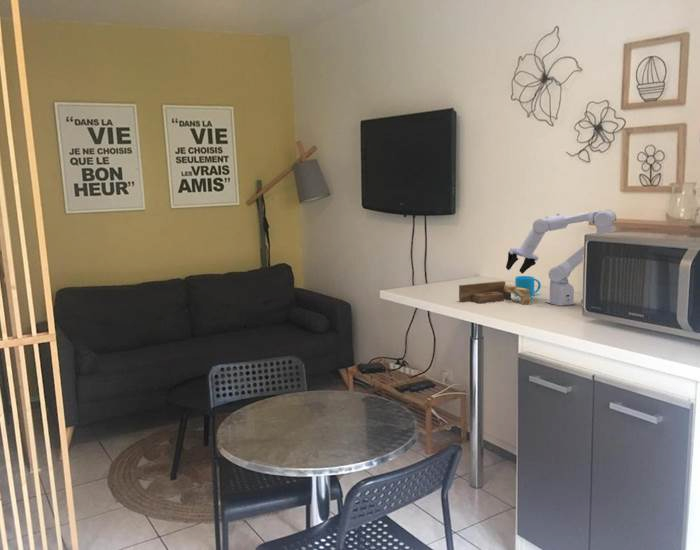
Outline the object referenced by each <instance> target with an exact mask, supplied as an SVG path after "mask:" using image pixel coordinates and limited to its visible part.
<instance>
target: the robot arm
mask: <svg viewBox="0 0 700 550" xmlns="http://www.w3.org/2000/svg"><path fill="white" fill-rule="evenodd" d="M614 221H617V214H616V213H615V212H614V211H613V210H611V209H605V210H592V211H591V210H590V211H587V212H582V213H577V214H574V215H570V216H567V215H565V214H564V213H557V214H555V215H554V216H544V217H542V218H538V219H536V220H534V222H533V223H532V227H531V229H530V231H529V232H528V234H527V236H526V237H525V239H524V240H523V243H522V244H521V245H520V247H518V248H512V247H510V248H509V250H508V252H507V255H508V256H507V262H506V265H505V269H506V270H507V271H509V270H511V269H512V267H513V266H514V264H515V263H516V262H517V261H518V260H519V258H518V257H523V258H524V260H523V263H522V265H521V266H520V268H519V272H520V274H524V273H525V272H526V271H528V269H529V268H531V267H533V266H535V265H536V263H537V262H538V260H539V259H540V258H539V256H538V255H536V254H534V253H535V250H536V249H537V248H538V246H539V244H540V243H541V241H542V239H543V237H544V236H545V234H546V233H547V232H549V231H550V232H551V231H557V230H563V229H566V228H567V227H568V225H570V224H576V223H582V222H588V223H591V224H594V225H595V227H596V234H597V233H606V232H613V233H614V230H615V227H616V226H615V225H613V226H612V223H613V222H614ZM583 255H584V245H583V246H581V248H580V249H578V250H577V251H576V252H574V253H573V254H572V255H570V256H569V257H568V258H567V259H566V260H564V261H563V262H561V263H560V264H558V265H556V266H553V267H552V268H550V269H549V271H548V278H549V300H544V302H545V303H548V304H552V305H556V306H559V307H561V306H569V305H575V304H576V302H574V300H575V299H574V297H575V295H574V293H575V289H574V286H573V285H572V284H570V283H569V279H568V278H569V277H570V275H571V273H572V272H573V271H574V270H575V269H576V268H577V267H578V266H579V265H581V264H582V263H583V262H584V261H583Z"/></svg>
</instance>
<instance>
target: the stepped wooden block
mask: <svg viewBox="0 0 700 550" xmlns="http://www.w3.org/2000/svg"><path fill="white" fill-rule="evenodd" d="M504 285H506V280H505V281H504V280H500V281H499V280H498V281H489V282H479V283H477V282H476V283H467V284H459V285H458V301H459V302H461V303H465V302H474V303H477V304H479V303H480V304H487V303H486V302H489V303H497V302H496V301H498V302H504V301H505V299H504Z"/></svg>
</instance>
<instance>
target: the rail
mask: <svg viewBox="0 0 700 550" xmlns="http://www.w3.org/2000/svg"><path fill="white" fill-rule="evenodd" d="M512 294H513V295H515V294H517V295H521V297H520V304H521V305H523V306H524V304H525V305H531V303H530V302H531V301H530V300H531V299H530V298H531V297H530V290H529V289H525V288H521V287H517V286H515V285H512V284H505V285H504V300H511V299H512Z"/></svg>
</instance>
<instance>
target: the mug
mask: <svg viewBox="0 0 700 550" xmlns="http://www.w3.org/2000/svg"><path fill="white" fill-rule="evenodd" d="M514 280H515V281H514V282H515V283H514V286H517V287H521V288H525V289H529V290H530V298H533V297H534V296H535V294H536V293H538V292H539V290H540V289H541V287H542V285H541V282H540V281H539V280H538V279H537V278H535V277H534V276H531V275H520V276H519V275H517V276H515V279H514ZM535 282H537V289H536V290H535ZM517 296H519V297H518V298H521V295H517V294H514V297H517ZM532 296H533V297H532Z"/></svg>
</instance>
